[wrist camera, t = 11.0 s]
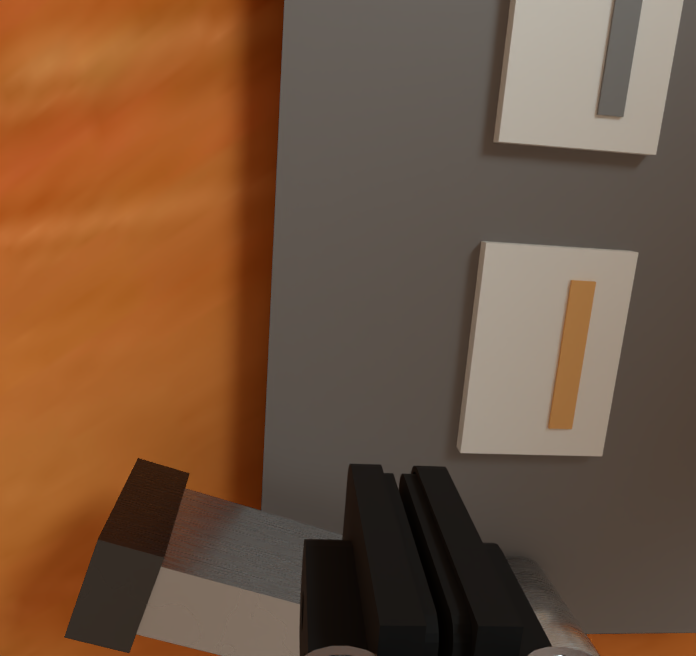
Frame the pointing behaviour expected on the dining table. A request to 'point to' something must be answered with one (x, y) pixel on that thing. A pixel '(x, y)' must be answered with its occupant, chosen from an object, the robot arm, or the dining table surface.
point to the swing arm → (224, 575)
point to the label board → (496, 280)
